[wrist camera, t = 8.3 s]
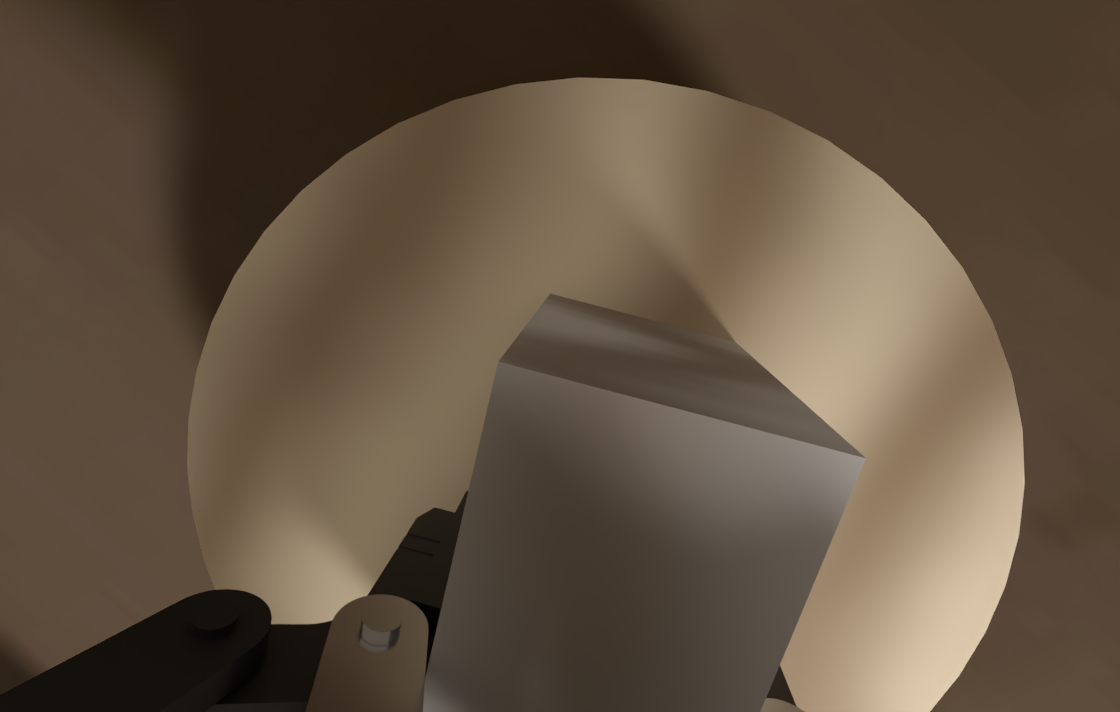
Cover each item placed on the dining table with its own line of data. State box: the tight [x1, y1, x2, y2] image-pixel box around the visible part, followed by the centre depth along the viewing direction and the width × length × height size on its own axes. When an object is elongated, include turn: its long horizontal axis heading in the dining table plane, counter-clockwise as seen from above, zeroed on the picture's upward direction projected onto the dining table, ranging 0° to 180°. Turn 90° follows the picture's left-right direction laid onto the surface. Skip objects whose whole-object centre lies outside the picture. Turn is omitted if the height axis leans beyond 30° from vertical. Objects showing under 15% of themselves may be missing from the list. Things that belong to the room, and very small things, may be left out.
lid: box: [187, 77, 1025, 712], centre depth 11 cm, size 19×19×7 cm
